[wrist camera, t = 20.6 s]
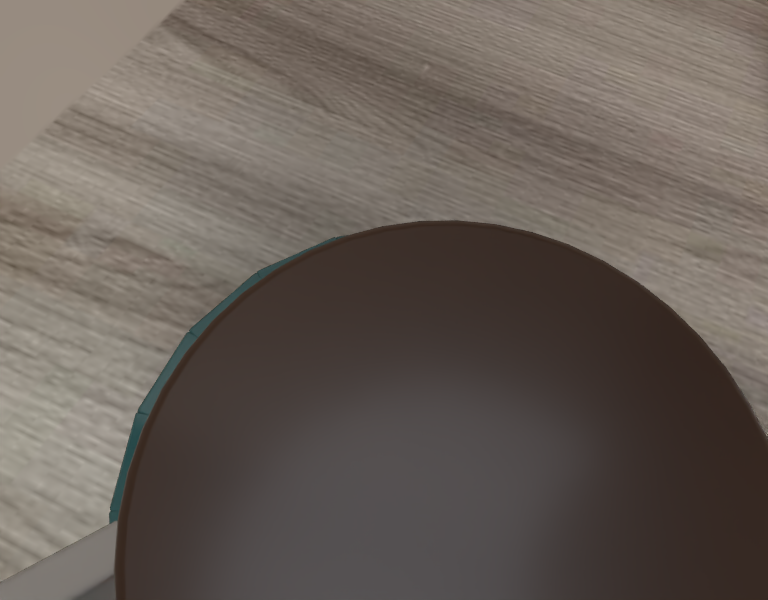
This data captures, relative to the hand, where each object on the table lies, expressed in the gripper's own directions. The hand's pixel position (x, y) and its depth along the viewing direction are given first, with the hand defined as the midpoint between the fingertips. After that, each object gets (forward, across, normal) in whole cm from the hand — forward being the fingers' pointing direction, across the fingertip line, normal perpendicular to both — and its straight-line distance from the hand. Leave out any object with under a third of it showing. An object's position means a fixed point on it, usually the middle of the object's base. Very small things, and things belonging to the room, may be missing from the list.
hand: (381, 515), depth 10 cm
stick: (+6, 0, +7) cm, 9 cm away
